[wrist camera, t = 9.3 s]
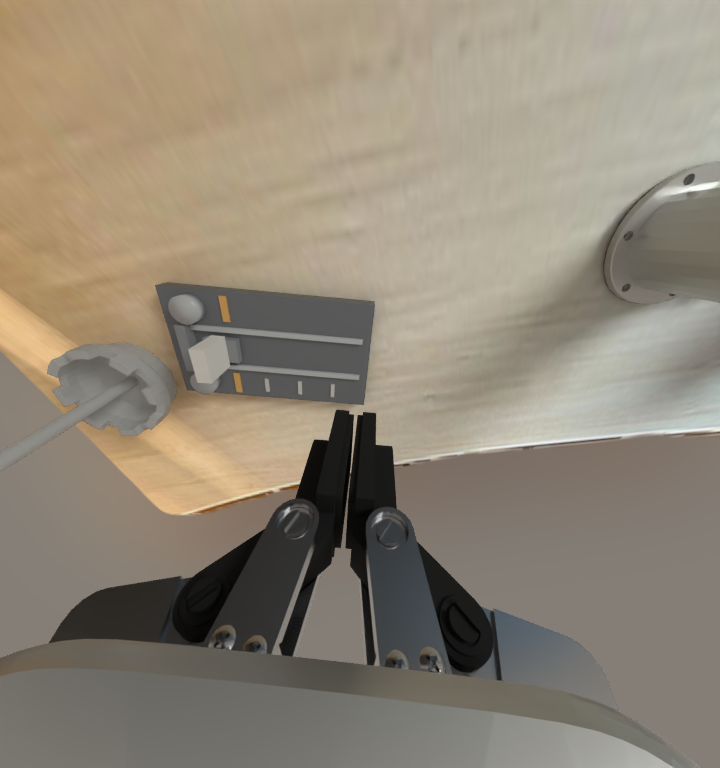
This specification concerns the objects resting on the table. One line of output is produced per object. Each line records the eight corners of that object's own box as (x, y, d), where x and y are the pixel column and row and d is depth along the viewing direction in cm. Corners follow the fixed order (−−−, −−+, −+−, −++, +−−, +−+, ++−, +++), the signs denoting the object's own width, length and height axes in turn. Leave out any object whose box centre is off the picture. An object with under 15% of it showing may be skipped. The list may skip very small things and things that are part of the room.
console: (374, 301, 31) (375, 308, 28) (363, 397, 38) (363, 411, 35) (167, 282, 30) (144, 287, 27) (195, 382, 37) (180, 395, 34)
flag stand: (68, 357, 36) (-723, 672, 10) (132, 320, 33) (-754, 631, 7) (141, 423, 42) (-233, 731, 16) (202, 397, 39) (-135, 723, 13)
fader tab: (238, 334, 31) (215, 351, 26) (243, 363, 33) (222, 384, 28) (205, 331, 31) (176, 348, 26) (212, 360, 33) (186, 381, 28)
